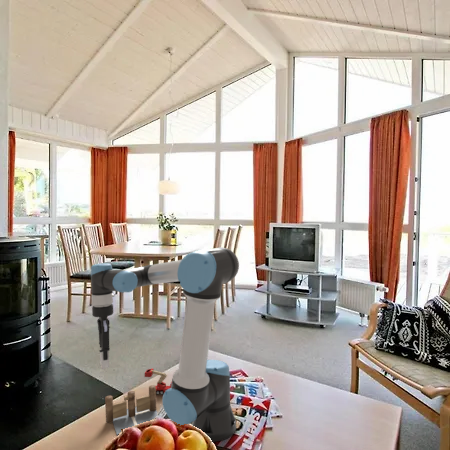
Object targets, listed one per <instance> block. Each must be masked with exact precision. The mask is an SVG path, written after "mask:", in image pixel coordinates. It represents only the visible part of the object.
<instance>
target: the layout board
mask: <svg viewBox="0 0 450 450" xmlns="http://www.w3.org/2000/svg"><path fill="white" fill-rule="evenodd" d="M157 413H158V411H157V409H156V410H155V411H150V410H149V409H148V410H144V411H141V412H137V408H136V406H135V416H134V417H129V416H128V408H127V415H126V416H122V417H118V418H115V419H113V421H112V423H113V427H114V430H115V433H116V436H119V435H118V434H119V433H120V432H121V429H125V428H128V427H132V426H135V425H138V424H140V423H143V422H146V421H150V420H152V419H154V418H155V417H156V416H157Z"/></svg>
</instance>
